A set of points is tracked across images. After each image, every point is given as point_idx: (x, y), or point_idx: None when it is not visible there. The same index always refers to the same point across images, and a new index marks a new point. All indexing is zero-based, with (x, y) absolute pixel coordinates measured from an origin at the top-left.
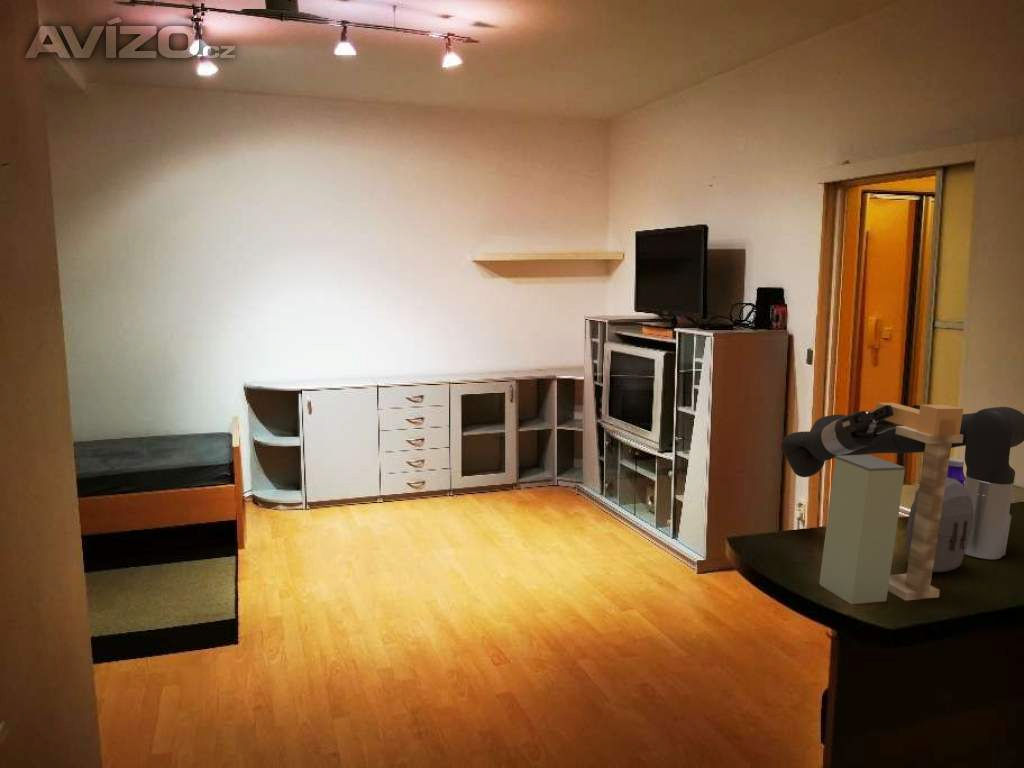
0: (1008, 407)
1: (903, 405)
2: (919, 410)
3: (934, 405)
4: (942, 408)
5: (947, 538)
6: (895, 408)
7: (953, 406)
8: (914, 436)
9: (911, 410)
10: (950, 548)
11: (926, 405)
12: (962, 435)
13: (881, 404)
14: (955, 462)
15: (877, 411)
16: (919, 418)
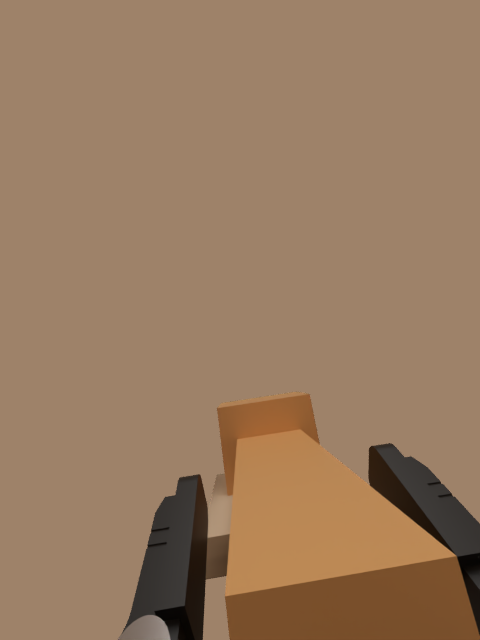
0: None
1: (233, 508)
2: (253, 456)
3: (271, 398)
4: (279, 394)
5: None
6: (343, 467)
7: (221, 405)
8: None
9: (294, 449)
10: None
11: (298, 394)
12: (220, 475)
13: (407, 519)
14: None
15: (461, 512)
16: (317, 436)
